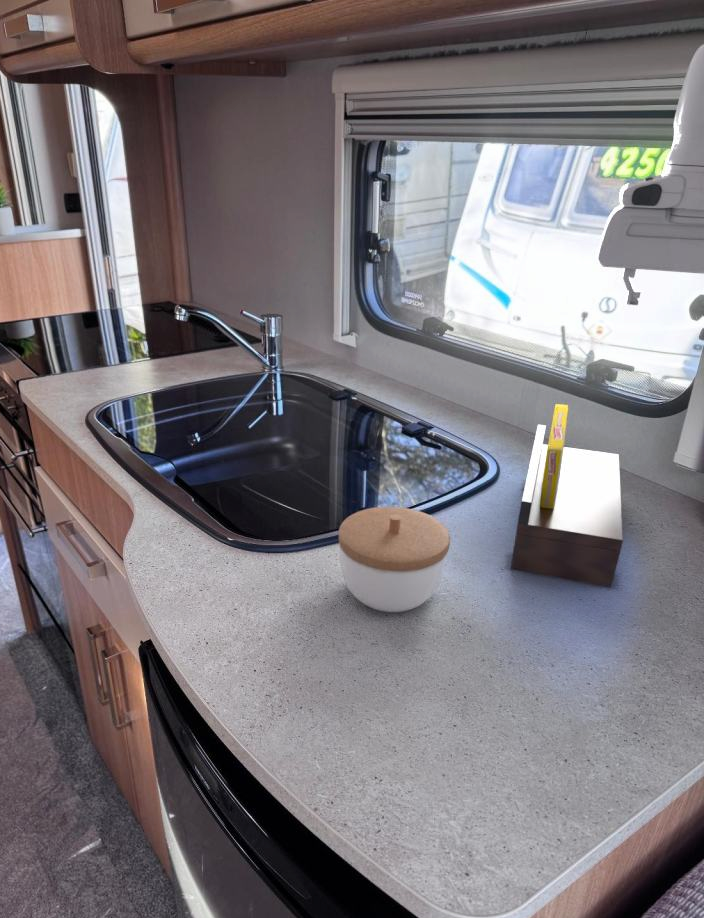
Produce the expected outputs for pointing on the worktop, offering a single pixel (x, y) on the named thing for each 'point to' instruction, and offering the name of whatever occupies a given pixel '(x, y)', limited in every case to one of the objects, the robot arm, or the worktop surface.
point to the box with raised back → (571, 517)
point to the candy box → (554, 457)
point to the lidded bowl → (392, 557)
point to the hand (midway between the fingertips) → (670, 307)
